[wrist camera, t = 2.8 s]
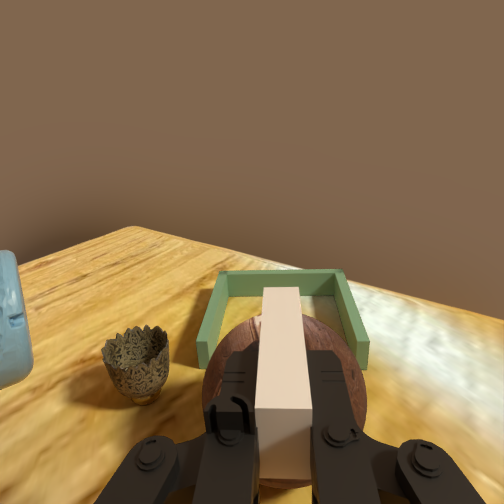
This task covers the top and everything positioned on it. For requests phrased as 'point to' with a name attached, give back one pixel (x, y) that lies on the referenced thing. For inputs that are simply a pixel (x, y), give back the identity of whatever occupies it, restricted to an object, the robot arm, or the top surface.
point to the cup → (138, 363)
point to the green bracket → (306, 280)
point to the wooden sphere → (315, 339)
